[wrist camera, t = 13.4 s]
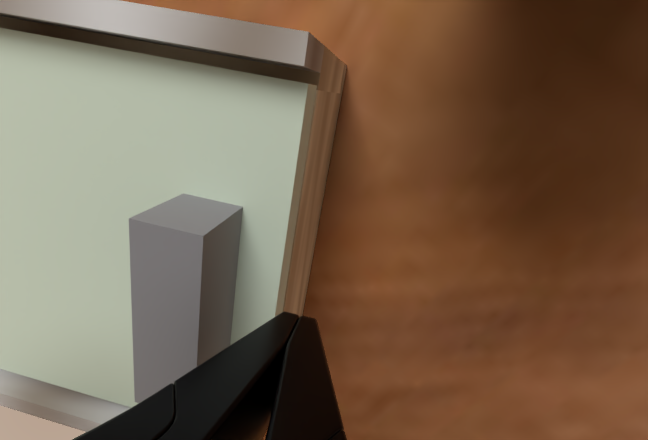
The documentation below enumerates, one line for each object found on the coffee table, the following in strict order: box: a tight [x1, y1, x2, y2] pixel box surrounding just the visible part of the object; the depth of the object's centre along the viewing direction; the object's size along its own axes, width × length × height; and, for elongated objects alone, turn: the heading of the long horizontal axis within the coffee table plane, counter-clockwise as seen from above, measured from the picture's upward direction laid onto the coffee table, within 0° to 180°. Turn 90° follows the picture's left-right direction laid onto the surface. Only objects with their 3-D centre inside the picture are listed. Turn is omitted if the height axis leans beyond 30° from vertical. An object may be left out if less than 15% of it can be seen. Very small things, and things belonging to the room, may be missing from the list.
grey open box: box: [0, 0, 347, 432], centre depth 13 cm, size 14×13×7 cm
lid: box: [0, 28, 317, 408], centre depth 10 cm, size 14×11×3 cm
